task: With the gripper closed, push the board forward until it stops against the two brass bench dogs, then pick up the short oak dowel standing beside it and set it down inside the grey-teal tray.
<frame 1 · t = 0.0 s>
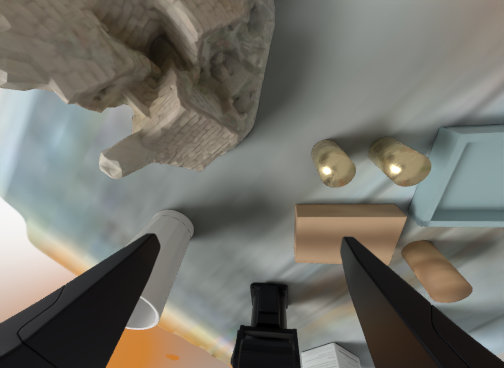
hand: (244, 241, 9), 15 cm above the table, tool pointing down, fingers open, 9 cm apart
dowel: (417, 250, 28), on the table
tray: (485, 173, 21), on the table
board: (338, 226, 27), on the table
supplement box: (329, 353, 45), on the table
cup: (173, 225, 30), on the table
bench dogs: (353, 151, 22), on the table
ceramic cottage: (207, 68, 19), on the table
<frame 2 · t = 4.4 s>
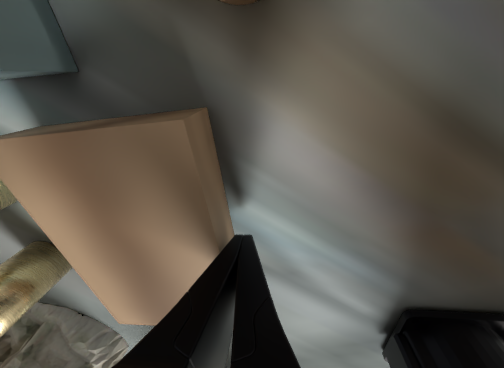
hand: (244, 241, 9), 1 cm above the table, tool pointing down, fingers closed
board: (168, 218, 12), on the table
bench dogs: (24, 223, 12), on the table
ceramic cottage: (44, 324, 21), on the table
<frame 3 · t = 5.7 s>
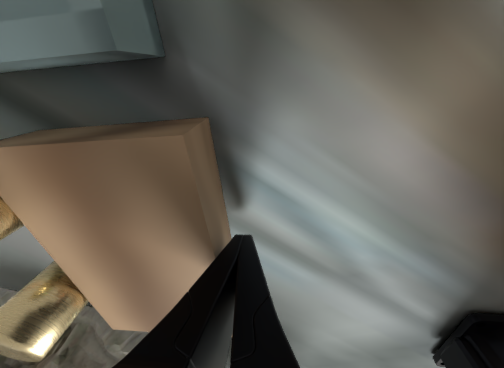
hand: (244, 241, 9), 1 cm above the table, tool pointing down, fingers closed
board: (165, 225, 12), on the table, touching bench dogs
bench dogs: (71, 222, 12), on the table
ceramic cottage: (71, 325, 20), on the table
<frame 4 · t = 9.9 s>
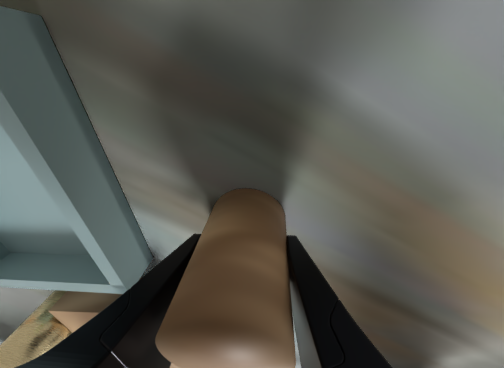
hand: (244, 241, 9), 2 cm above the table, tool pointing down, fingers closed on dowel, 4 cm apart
dowel: (248, 219, 11), on the table, touching gripper
tray: (25, 175, 11), on the table
board: (158, 314, 18), on the table
bench dogs: (95, 313, 18), on the table
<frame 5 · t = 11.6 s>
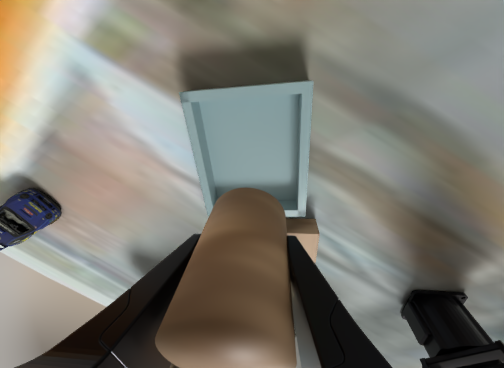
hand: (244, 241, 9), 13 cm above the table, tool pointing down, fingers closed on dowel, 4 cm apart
dowel: (248, 219, 11), point 11 cm above the table, touching gripper
tray: (252, 152, 21), on the table
board: (281, 250, 27), on the table
race car: (36, 209, 29), on the table
when the fingers open (3 cm above the table, at t = 13.7 s): dowel stays where it is, resting on tray.
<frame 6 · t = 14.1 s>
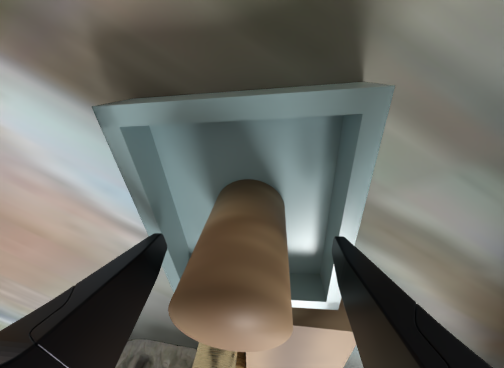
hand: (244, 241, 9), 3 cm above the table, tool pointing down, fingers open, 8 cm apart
dowel: (250, 209, 12), point 1 cm above the table, touching tray
tray: (250, 204, 12), on the table
board: (290, 323, 19), on the table
bench dogs: (230, 322, 19), on the table
ceramic cottage: (186, 361, 26), on the table
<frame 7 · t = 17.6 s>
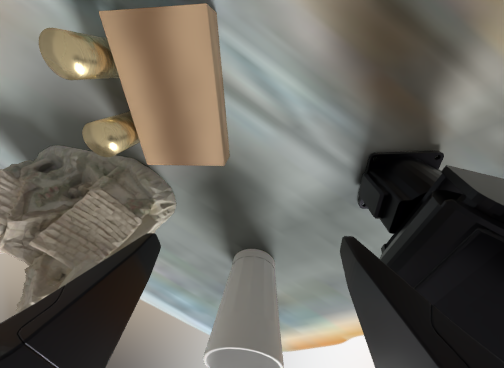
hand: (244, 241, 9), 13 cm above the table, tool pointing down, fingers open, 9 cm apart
board: (184, 96, 19), on the table
cup: (254, 262, 30), on the table
bench dogs: (125, 95, 19), on the table
ceramic cottage: (109, 190, 26), on the table
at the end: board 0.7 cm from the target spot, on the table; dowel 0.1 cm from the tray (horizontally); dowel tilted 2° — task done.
